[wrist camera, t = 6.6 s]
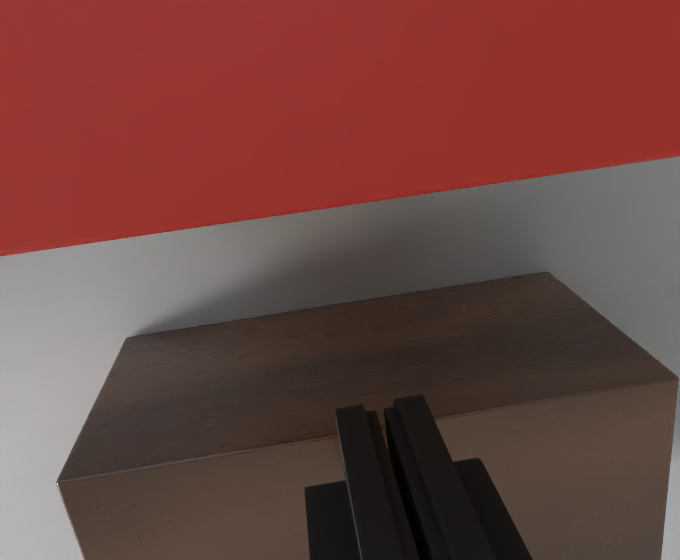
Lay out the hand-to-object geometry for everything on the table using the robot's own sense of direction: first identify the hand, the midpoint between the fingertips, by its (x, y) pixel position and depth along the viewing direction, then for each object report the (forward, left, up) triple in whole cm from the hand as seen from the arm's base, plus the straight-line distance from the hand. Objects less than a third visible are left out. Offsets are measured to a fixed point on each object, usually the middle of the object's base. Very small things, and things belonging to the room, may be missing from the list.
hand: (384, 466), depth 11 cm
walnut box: (+4, 0, -8) cm, 9 cm away
